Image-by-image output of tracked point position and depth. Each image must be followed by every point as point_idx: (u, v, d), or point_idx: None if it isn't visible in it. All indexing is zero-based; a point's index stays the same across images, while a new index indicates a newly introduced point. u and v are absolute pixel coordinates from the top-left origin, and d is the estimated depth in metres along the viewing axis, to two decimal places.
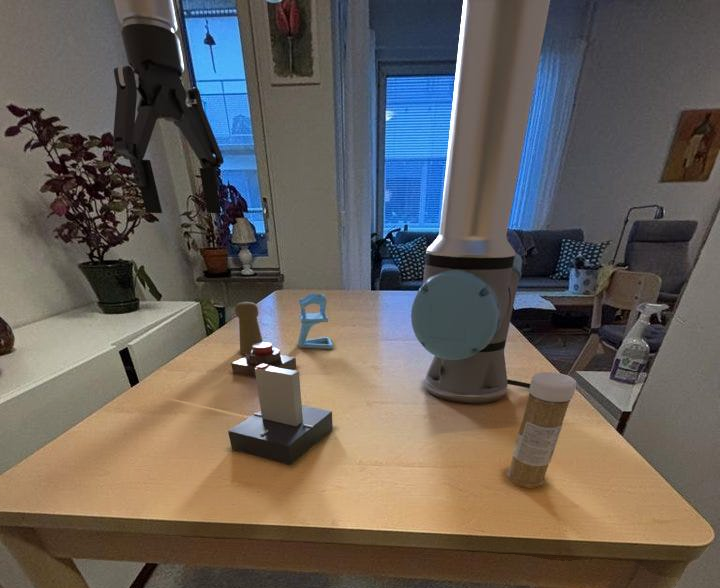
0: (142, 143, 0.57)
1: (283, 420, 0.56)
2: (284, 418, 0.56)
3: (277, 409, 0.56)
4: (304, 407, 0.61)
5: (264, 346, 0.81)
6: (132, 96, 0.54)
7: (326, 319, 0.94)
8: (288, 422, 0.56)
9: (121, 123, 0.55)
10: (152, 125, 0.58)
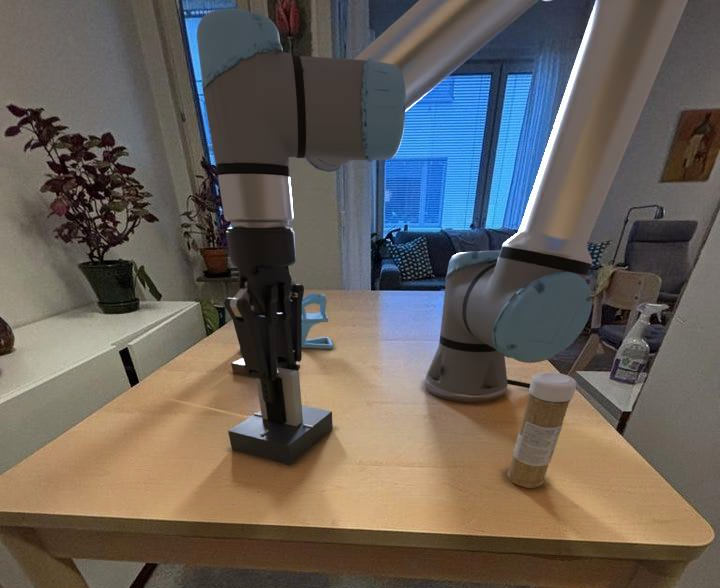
0: (272, 365, 0.50)
1: None
2: None
3: None
4: (304, 407, 0.61)
5: None
6: (254, 326, 0.45)
7: (326, 319, 0.94)
8: (288, 422, 0.56)
9: (251, 357, 0.48)
10: (273, 336, 0.49)
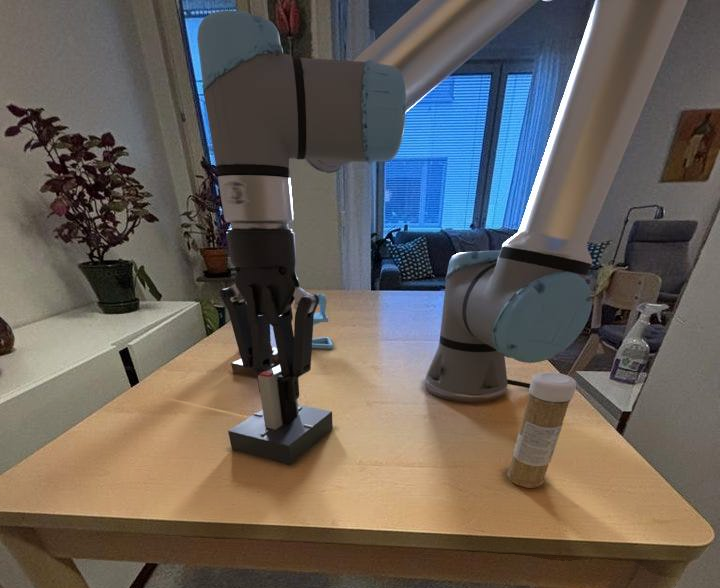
0: None
1: None
2: None
3: None
4: (304, 407, 0.61)
5: None
6: None
7: (326, 319, 0.94)
8: None
9: (307, 351, 0.50)
10: None
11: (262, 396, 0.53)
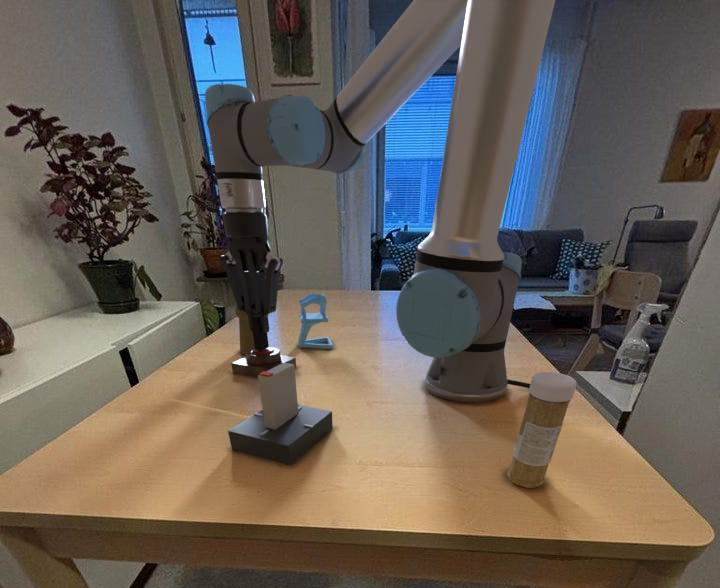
0: None
1: (290, 415, 0.57)
2: (291, 413, 0.57)
3: (286, 408, 0.56)
4: (304, 407, 0.61)
5: (264, 350, 0.81)
6: None
7: (326, 319, 0.94)
8: (293, 414, 0.58)
9: (274, 297, 0.75)
10: None
11: (262, 396, 0.53)
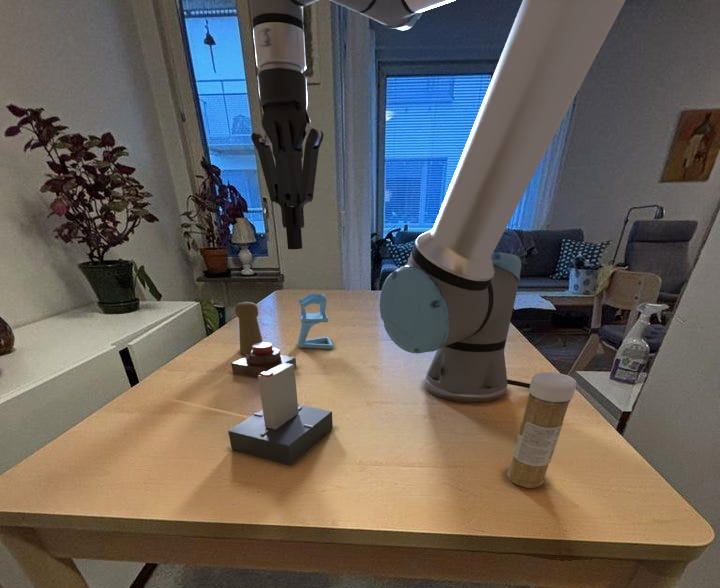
0: None
1: (290, 415, 0.57)
2: (291, 413, 0.57)
3: (286, 408, 0.56)
4: (304, 407, 0.61)
5: (264, 346, 0.81)
6: None
7: (326, 319, 0.94)
8: (293, 414, 0.58)
9: (312, 181, 0.67)
10: None
11: (262, 396, 0.53)
